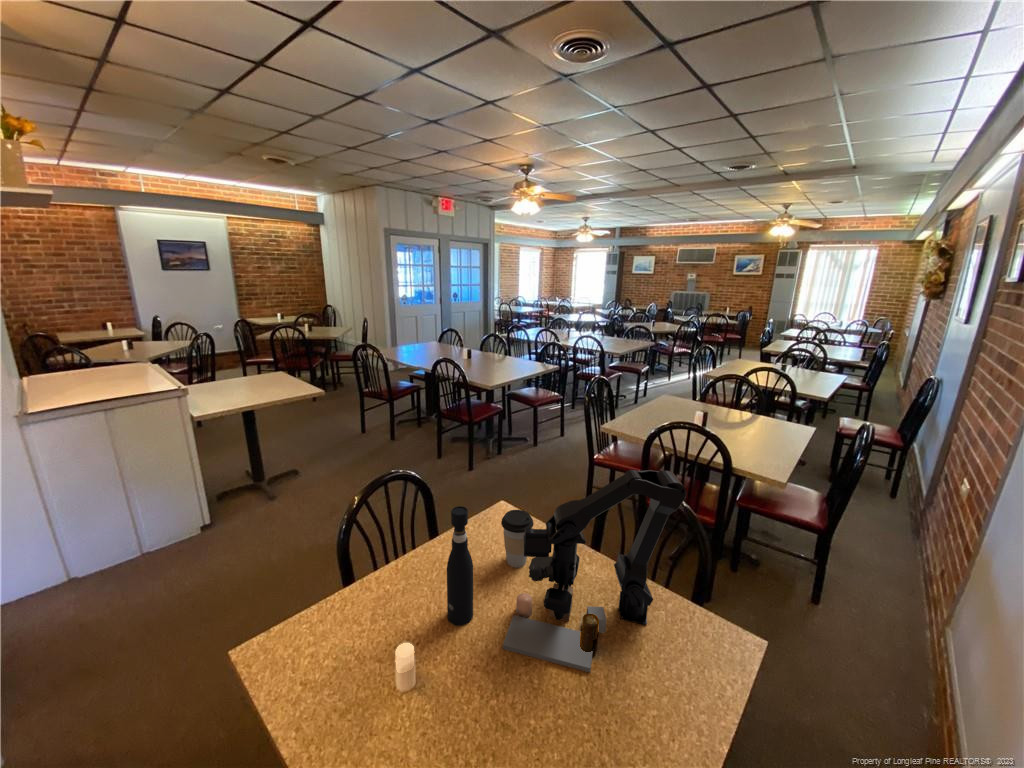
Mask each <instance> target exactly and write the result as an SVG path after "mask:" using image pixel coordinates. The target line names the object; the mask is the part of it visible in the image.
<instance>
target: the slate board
mask: <svg viewBox="0 0 1024 768" xmlns="http://www.w3.org/2000/svg"><path fill="white" fill-rule="evenodd" d="M580 632H581V631H580V630H576V629H572V628H567V627H563V626H559V625H555V624H552V623H547V622H543V621H539V620H535V619H532V618H529V617H528V618H524V617H520V616H518V615H517V614H516V615H515V614H513V615H512V617H511V621H510V623H509V626H508V630H507V633H506V635H505V637H504V640H503V643H502V649H503V650H505V651H508V652H512V653H517V654H520V655H525V656H527V657H531V658H534V659H538V660H543V661H546V662H549V663H553V664H557V665H561V666H564V667H568V668H571V669H575V670H579V671H583V672H586V673H591V668H592V660H593V659H592V658H593V652H594V650H593V651H591V652H585V651H583V650H582V649H581V647H580Z"/></svg>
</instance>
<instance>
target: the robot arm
mask: <svg viewBox="0 0 1024 768" xmlns="http://www.w3.org/2000/svg"><path fill="white" fill-rule="evenodd" d="M633 495H642V496H644V497H647V498H649V505H648V508H647V510H646V512H645V515H644V518H643V519H642V522H641V524H640V527H639V529H638V531H637V534H636V536H635V539H634V541H633V543H632V546H631V548H630V551H629V552H627V553H626V554H622V553H619V554H618V557H617V559H616V562H615V563H614V564H613V567H614V570H615V574H616V578H617V581H618V584H619V587H620V592H619V598H618V599H619V600H618V612H620V613H619V618H620V620H622V621H628V622H630V623H634V624H635V623H636V624H640V625H645V626H646V625H647V624H648V609H649V607H650V606H651V604H652V603H653V601H654V598H653V595H652V592H651V591H650V588H649V585H648V583H647V581H648V564H649V561H650V559H651V556H652V554H653V552H654V549H656V548H655V547H656V546H657V543H658V541H659V538H660V536H661V534H662V532H663V529H664V527H665V525H666V523H667V521H668V519H669V516H670V515H671V514H674V513H675V512H677V510H679V508H680V507H681V505H682V504H683V502H684V501H685V500H686V497H687V490H686V488H685V486H684V484H683V483H681V481H680V479H678V478H677V475H675V474H674V472H672V471H671V470H670V471H669V470H661V471H658V470H652V469H647V470H635V469H629V470H626V471H625V472H624V474H623V475H622V476H619V477H617V478H616V479H615V480H613V481H611V482H609V483H608V484H606V485H604V486H603V487H601V488H599V489H597V490H596V491H594V492H593V493H591V494H589V495H587V496H586V497H584V498H581V499H577V500H576V499H575V500H574V499H573V500H570V501H567V502H564V503H562V504H560V505H558V506H557V507H556V508H555V510H554V513H553V515H552V516H551V517H550V518H549V519H548V520H547V521H546V522H545V528H533V527H532V528H525V535H524V540H523V555H524V557H527V558H529V557H530V558H532V559H531V560H530V564H529V566H528V569H529V570H528V573H529V574H528V577H529V578H531V581H532V582H542V581H543V580H544V579H547V578H548V582H550V583H554V582H555V583H556V584H559V587H558V589H555V588H553V587H549V588H547V589H546V591H545V595H544V599H543V607H544V609H545V610H549V611H550V610H553V611H554V614H555V618H554V619H555V620H556V621H561V620H562V618H563V617H564V615H565V614H568V613H570V609H571V610H572V608H571V604H572V605H573V597H572V595H571V593H570V592H569V591H568V588H569V586H570V587H572V586H574V584H575V579H576V578H577V575H578V571H579V567H580V566H579V565H580V558H581V557H580V556H579V554H578V553H577V552H578V551H577V550H578V544H582V545H583V544H584V545H586V544H587V541H586V536H585V533H584V532H583V531H584V530H586V528H587V527H588V525H589V524H590V523H591V521H592V520H593V519H595V518H596V517H597V516H599V515H602V513H604V512H606V511H608V510H610V509H611V508H612V507H614V506H616V505H618V504H620V503H622V502H623V501H625V500H627V499H628V498H630V497H632V496H633ZM552 545H553V549H552ZM551 553H552V555H551V556H550V554H551ZM564 585H565V586H564ZM563 587H564V590H563ZM570 614H571V613H570Z"/></svg>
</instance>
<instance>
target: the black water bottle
mask: <svg viewBox="0 0 1024 768" xmlns="http://www.w3.org/2000/svg"><path fill="white" fill-rule="evenodd" d="M468 513H469V511H468V508H467V507H465V506H462V505H459V506H455V507H453V508H452V509H451V510H450V515H451V516H450V520H451V522H450V523H451V525H452V527H454V528H453V533H452V538H451V551H450V553H449V556H448V559H447V565H446V596H447V597H446V598H447V599H446V601H447V602H446V603H447V605H446V606H447V609H446V610H447V620H448V622H449V623H450V624H452V625H453V626H456V627H457V626H458V627H460V626H462V627H463V626H466V625H467V624H469V623H470V622H471V621H472V619H473V617H474V563H473V559H472V556H471V553H470V549H468V546H469V544H468V536H467V534H468V533H467V531H466V526H467V525H468V523H469V516H468V515H469V514H468Z"/></svg>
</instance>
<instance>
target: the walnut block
mask: <svg viewBox="0 0 1024 768" xmlns="http://www.w3.org/2000/svg"><path fill="white" fill-rule="evenodd" d="M564 586H565V585H564ZM558 587H559V584H557V583H556V582H555V583H554V582H553V586H552V588H555V589H558ZM563 590H564V587H563ZM568 591H569V592H570V593H571V595H572V598H573V595H574V593H573V592H574V587H573V586H571V587H570V586H569V588H568ZM572 607H573V603H572V604H571V609H570V613H568V614H565V615H564V617H563V618H562V619H561V620H564V621H567V622H570V618H571V617H570V616H571V613H572ZM548 614H549V617H550V618H554V619H556V618H555V614H554V611H553V610H549V613H548Z"/></svg>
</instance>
